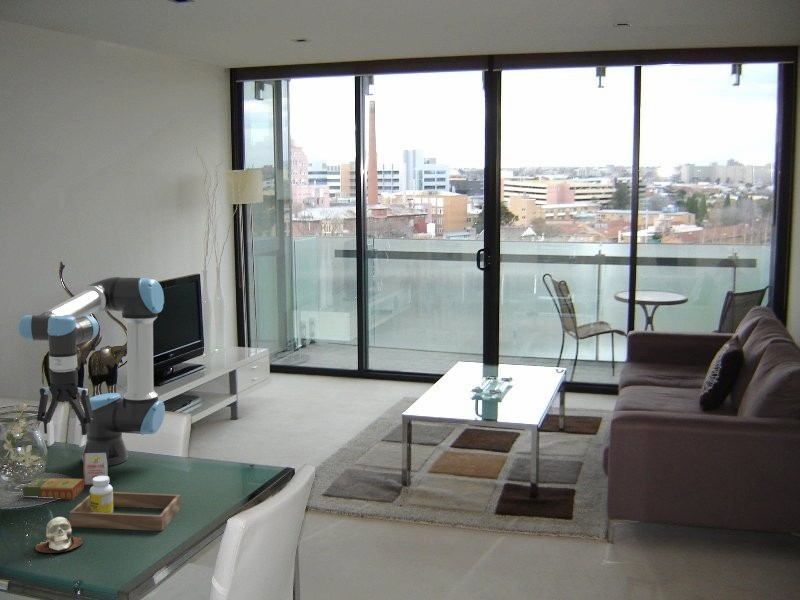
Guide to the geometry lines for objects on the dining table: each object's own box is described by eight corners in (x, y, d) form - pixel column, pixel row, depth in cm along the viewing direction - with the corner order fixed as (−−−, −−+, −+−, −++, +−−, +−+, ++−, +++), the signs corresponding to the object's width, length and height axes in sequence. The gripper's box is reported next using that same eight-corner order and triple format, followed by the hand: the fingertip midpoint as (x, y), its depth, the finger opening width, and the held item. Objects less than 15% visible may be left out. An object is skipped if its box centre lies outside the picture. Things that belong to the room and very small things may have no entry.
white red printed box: (86, 481, 285) (85, 451, 283) (107, 480, 286) (107, 451, 284) (84, 485, 281) (83, 455, 280) (105, 484, 282) (104, 454, 281)
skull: (88, 546, 233) (59, 524, 229) (58, 575, 231) (29, 553, 227) (85, 528, 244) (58, 506, 240) (57, 555, 242) (29, 533, 238)
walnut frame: (94, 504, 265) (93, 491, 265) (181, 508, 263) (180, 494, 263) (69, 526, 248) (69, 512, 248) (162, 530, 247) (161, 516, 246)
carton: (73, 500, 269) (72, 487, 268) (22, 499, 269) (21, 485, 269) (84, 490, 277) (83, 478, 276) (35, 489, 278) (34, 476, 277)
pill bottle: (89, 513, 258) (88, 476, 256) (112, 510, 261) (111, 473, 259) (91, 521, 252) (89, 483, 250) (114, 518, 255) (113, 480, 253)
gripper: (21, 370, 248) (24, 447, 251) (94, 373, 246) (97, 450, 250) (33, 365, 255) (37, 439, 258) (105, 367, 254) (107, 442, 257)
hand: (66, 444), depth 254 cm, fingers open, 9 cm apart
